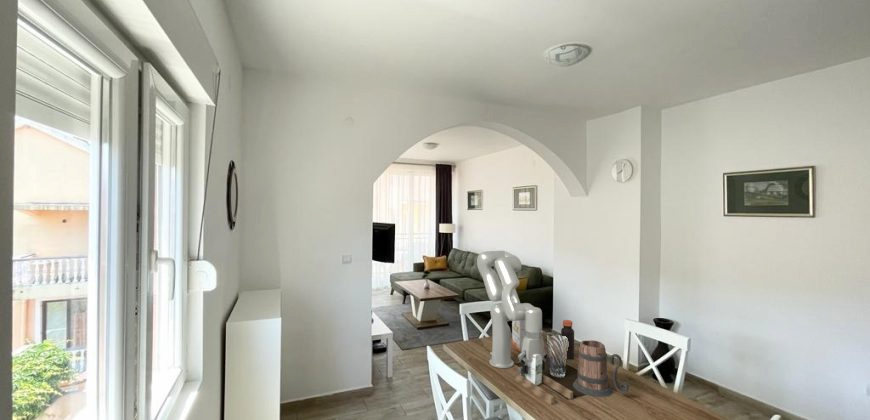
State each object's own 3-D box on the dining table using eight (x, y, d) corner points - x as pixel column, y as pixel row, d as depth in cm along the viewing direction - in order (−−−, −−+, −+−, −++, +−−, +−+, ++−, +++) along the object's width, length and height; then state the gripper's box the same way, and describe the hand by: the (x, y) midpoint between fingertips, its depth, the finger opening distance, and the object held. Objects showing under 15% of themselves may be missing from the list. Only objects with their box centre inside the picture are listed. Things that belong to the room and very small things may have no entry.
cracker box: (511, 344, 220) (511, 309, 220) (521, 343, 220) (521, 309, 221) (519, 352, 206) (519, 316, 206) (529, 352, 206) (529, 315, 207)
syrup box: (531, 379, 173) (531, 348, 173) (542, 383, 169) (542, 352, 169) (524, 382, 169) (524, 351, 169) (535, 387, 165) (535, 355, 165)
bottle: (563, 354, 204) (563, 318, 204) (575, 357, 200) (575, 320, 200) (559, 357, 199) (559, 321, 199) (571, 361, 194) (571, 323, 195)
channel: (515, 380, 172) (515, 367, 172) (535, 375, 176) (535, 363, 177) (551, 404, 150) (551, 390, 150) (573, 398, 155) (573, 384, 155)
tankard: (566, 387, 164) (566, 343, 165) (581, 376, 177) (581, 334, 177) (622, 407, 148) (622, 358, 148) (634, 392, 160) (634, 347, 161)
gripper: (542, 329, 176) (542, 364, 176) (513, 334, 169) (513, 371, 169) (553, 334, 169) (553, 371, 169) (523, 339, 162) (523, 377, 162)
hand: (533, 371), depth 169 cm, fingers open, 9 cm apart
